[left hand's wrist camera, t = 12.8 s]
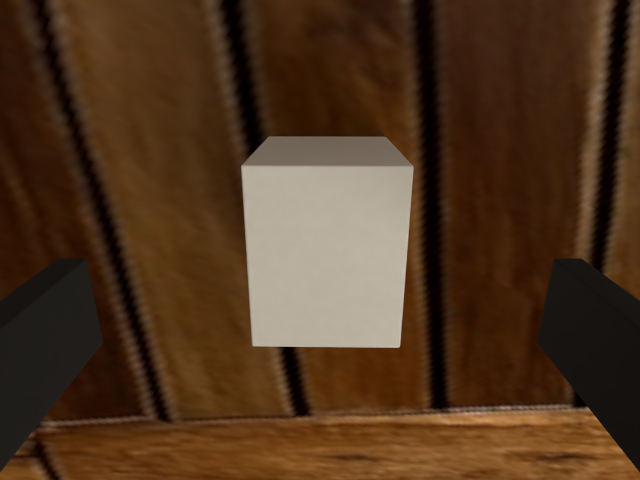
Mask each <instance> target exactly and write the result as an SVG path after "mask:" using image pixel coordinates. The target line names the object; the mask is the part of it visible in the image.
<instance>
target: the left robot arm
mask: <svg viewBox="0 0 640 480" xmlns="http://www.w3.org/2000/svg"><path fill="white" fill-rule="evenodd" d="M102 343H103V339H102V334H101V329H100V325H99V320H98V315H97V310H96V305H95V300H94V296H93V291H92V286H91V281H90V276H89V272H88V267H87V262H86V259H57V260H56V261H55V262H53V263H52V264H51V265H49V266H48V267H46V268H45V269H44V270H42V271H41V272H40V273H38V274H37V275H35V276H34V277H33V278H31V279H30V280H28V281H27V282H26V283H24V284H23V285H22V286H20V287H19V288H17V289H16V290H15V291H13V292H12V293H11V294H9V295H8V296H6V297H5V298H4V299H2V300H1V301H0V472H1V470H2V469H3V468H4V467H5V465H6V464H7V463H8V462H9V460H10V459H11V458H12V457H13V455H14V454H15V453H16V452H17V450H18V449H19V448H20V447H21V445H22V444H23V443H24V441H25V440H26V439H27V438H28V436H29V435H30V434H31V433H32V431H33V430H34V429H35V428H36V426H37V425H38V424H39V423H40V421H41V420H42V419H43V418H44V416H45V415H46V414H47V412H48V411H49V410H50V409H51V407H52V406H53V405H54V404H55V402H56V401H57V400H58V399H59V397H60V396H61V395H62V394H63V392H64V391H65V390H66V389H67V387H68V386H69V385H70V383H71V382H72V381H73V380H74V378H75V377H76V376H77V375H78V373H79V372H80V371H81V370H82V368H83V367H84V366H85V365H86V363H87V362H88V361H89V360H90V358H91V357H92V356H93V354H94V353H95V352H96V351H97V349H98V348H99V347H100V346H101V344H102ZM537 343H538V344H539V346H540V347H541V348H542V349H543V351H544V352H545V353H546V354H547V356H548V357H549V358H550V360H551V361H552V362H553V363H554V365H555V366H556V367H557V368H558V370H559V371H560V372H561V373H562V375H563V376H564V377H565V378H566V380H567V381H568V382H569V383H570V385H571V386H572V387H573V389H574V390H575V391H576V392H577V394H578V395H579V396H580V397H581V399H582V400H583V401H584V402H585V404H586V405H587V406H588V407H589V409H590V410H591V411H592V412H593V414H594V415H595V416H596V418H597V419H598V420H599V421H600V423H601V424H602V425H603V426H604V428H605V429H606V430H607V431H608V433H609V434H610V435H611V436H612V438H613V439H614V440H615V441H616V443H617V444H618V445H619V447H620V448H621V449H622V450H623V452H624V453H625V454H626V455H627V457H628V458H629V459H630V460H631V462H632V463H633V464H634V465H635V467H636V468H637V469H638V470H639V472H640V301H639V300H638V299H636V298H635V297H634V296H632V295H631V294H629V293H628V292H627V291H625V290H624V289H623V288H621V287H620V286H618V285H617V284H616V283H614V282H613V281H612V280H610V279H609V278H607V277H606V276H605V275H603V274H602V273H600V272H599V271H598V270H596V269H595V268H594V267H592V266H591V265H589V264H588V263H587V262H585V261H584V260H583V259H554V262H553V267H552V272H551V276H550V281H549V286H548V291H547V296H546V300H545V305H544V310H543V315H542V320H541V325H540V329H539V334H538V339H537Z"/></svg>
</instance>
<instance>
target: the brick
mask: <svg viewBox="0 0 640 480" xmlns="http://www.w3.org/2000/svg"><path fill="white" fill-rule="evenodd" d="M241 174H242V190H243V206H244V222H245V239H246V255H247V271H248V287H249V303H250V320H251V336H252V345H253V346H287V347H389V348H399V347H400V340H401V326H402V313H403V300H404V287H405V273H406V260H407V247H408V234H409V220H410V207H411V194H412V181H413V166H412V165H411V164H410V162H409V161H408V160H407V159H406V158H405V157H404V156H403V155H402V154H401V153H400V152H399V151H398V150H397V148H396V147H395V146H394V145H393V144H392V143H391V142H390V141H389V140H388V139H387V138H386V137H298V136H269V137H268V138H267V139H266V140H265V141H264V142H263V143H262V144H261V145H260V146H259V147H258V149H257V150H256V151H255V152H254V153H253V154H252V155H251V156H250V157H249V158H248V159H247V160H246V161H245V162H244V163H243V165H242V166H241Z"/></svg>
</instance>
